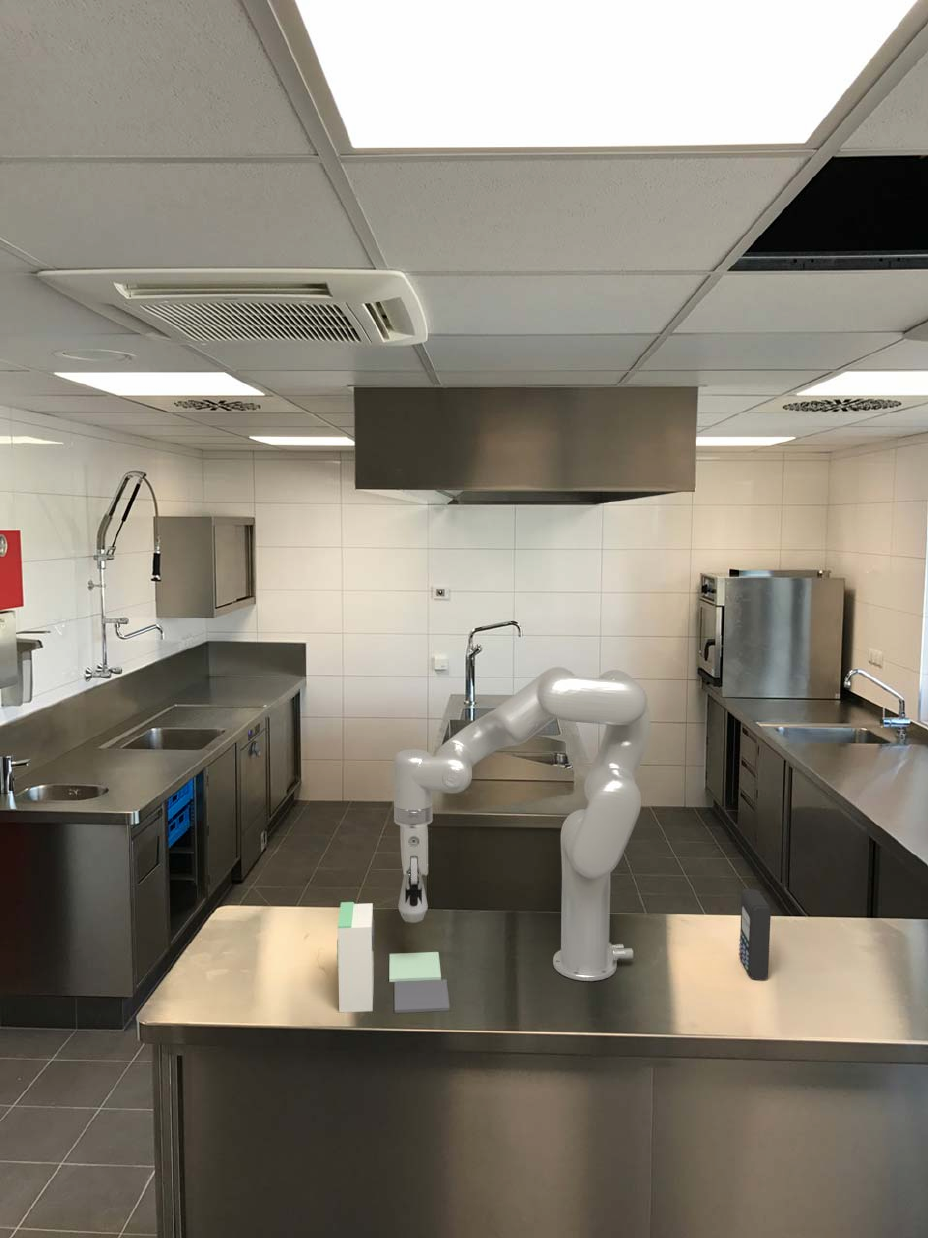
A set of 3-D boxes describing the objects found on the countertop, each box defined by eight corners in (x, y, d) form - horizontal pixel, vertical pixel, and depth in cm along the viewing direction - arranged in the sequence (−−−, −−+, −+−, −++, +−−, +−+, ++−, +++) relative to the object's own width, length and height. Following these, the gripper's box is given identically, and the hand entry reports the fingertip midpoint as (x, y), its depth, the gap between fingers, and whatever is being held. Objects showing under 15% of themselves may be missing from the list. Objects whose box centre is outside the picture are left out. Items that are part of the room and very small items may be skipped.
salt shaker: (423, 926, 171) (423, 861, 170) (395, 923, 172) (394, 859, 171) (430, 913, 177) (430, 850, 175) (403, 910, 178) (402, 848, 177)
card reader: (736, 957, 180) (739, 887, 178) (756, 958, 179) (759, 887, 178) (748, 981, 171) (751, 906, 169) (769, 981, 170) (772, 907, 169)
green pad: (438, 954, 181) (438, 952, 181) (440, 979, 171) (440, 977, 171) (389, 956, 180) (389, 954, 180) (389, 982, 170) (389, 979, 170)
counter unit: (375, 982, 170) (374, 901, 168) (374, 1011, 160) (373, 925, 158) (340, 984, 170) (339, 902, 168) (337, 1012, 160) (336, 926, 158)
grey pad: (446, 982, 170) (446, 979, 170) (449, 1010, 160) (449, 1007, 160) (394, 984, 169) (394, 981, 169) (394, 1013, 160) (394, 1010, 160)
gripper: (434, 827, 164) (434, 921, 166) (430, 800, 181) (430, 886, 183) (394, 828, 164) (394, 923, 166) (394, 800, 180) (394, 887, 182)
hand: (413, 902), depth 174 cm, fingers closed on salt shaker, 3 cm apart
